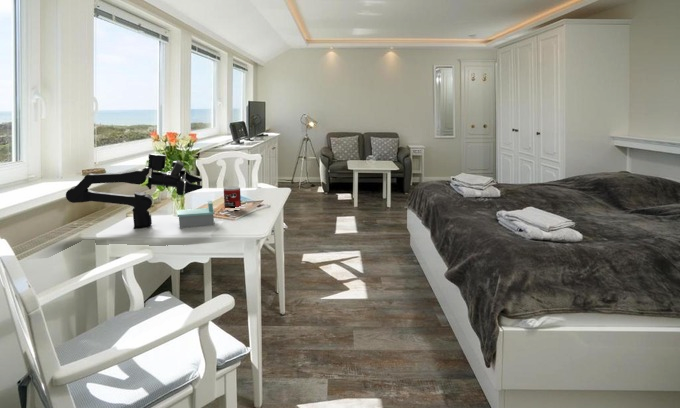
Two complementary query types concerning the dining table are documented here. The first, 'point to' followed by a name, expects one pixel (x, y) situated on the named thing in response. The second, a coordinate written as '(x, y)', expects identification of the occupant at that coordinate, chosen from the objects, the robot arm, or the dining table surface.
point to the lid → (197, 211)
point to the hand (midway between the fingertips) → (202, 183)
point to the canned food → (232, 197)
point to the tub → (196, 221)
